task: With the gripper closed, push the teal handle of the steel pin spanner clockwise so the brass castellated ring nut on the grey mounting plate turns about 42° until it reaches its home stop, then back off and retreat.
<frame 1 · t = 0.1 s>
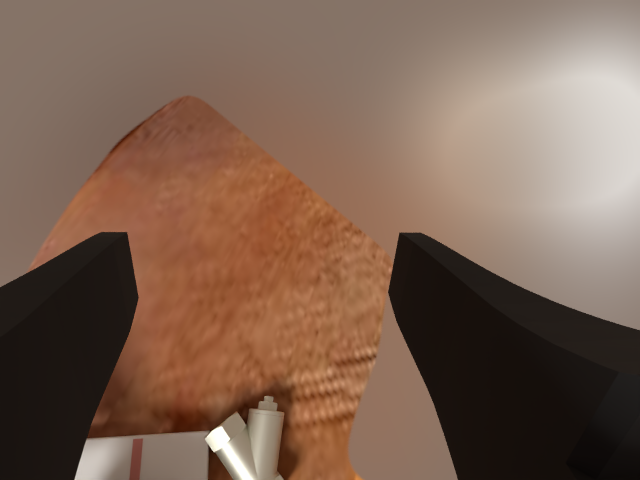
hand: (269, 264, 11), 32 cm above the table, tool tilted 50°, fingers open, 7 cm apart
pipe fitting: (261, 445, 39), on the table
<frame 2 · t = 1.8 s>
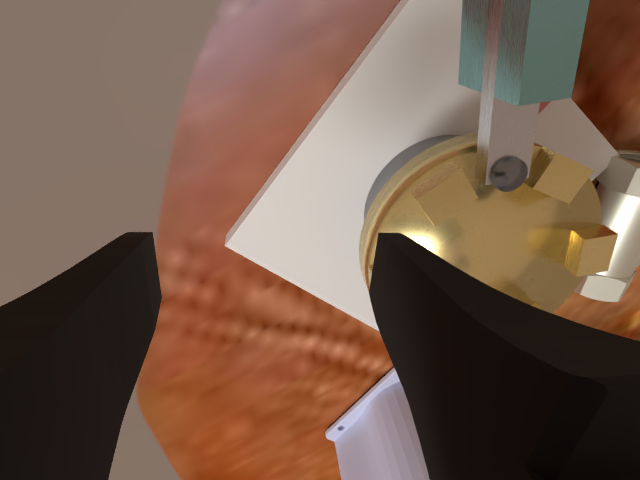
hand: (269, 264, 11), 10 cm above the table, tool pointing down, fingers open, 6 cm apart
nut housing: (429, 200, 23), on the table
pipe fitting: (613, 211, 25), on the table
ring nut: (496, 174, 15), point 7 cm above the table, hinge at 45.0°
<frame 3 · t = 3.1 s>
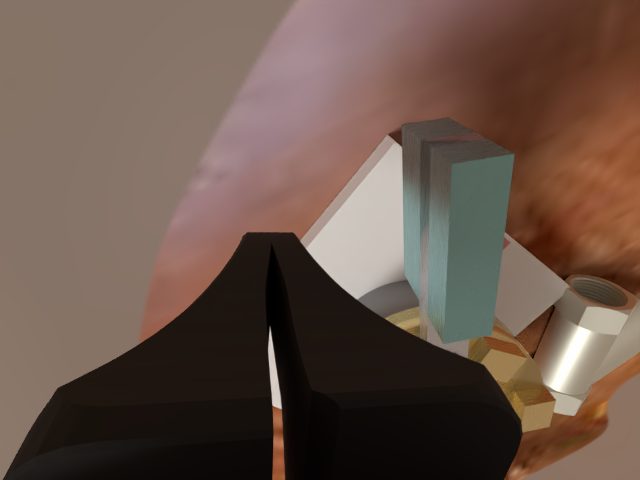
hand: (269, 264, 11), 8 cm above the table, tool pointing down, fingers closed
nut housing: (394, 324, 24), on the table
pipe fitting: (573, 321, 27), on the table
ring nut: (439, 358, 16), point 7 cm above the table, hinge at 45.0°
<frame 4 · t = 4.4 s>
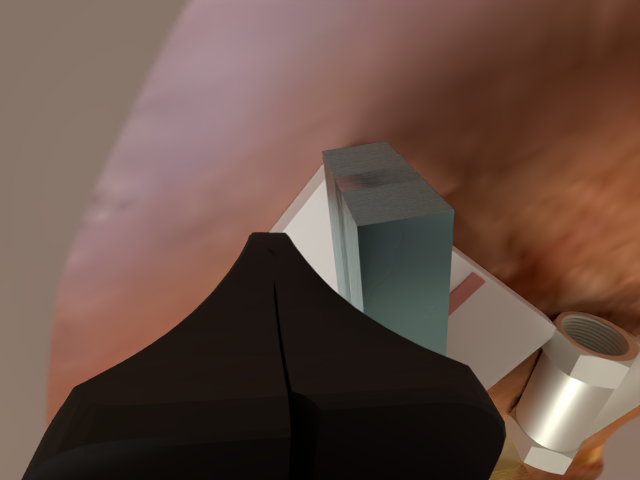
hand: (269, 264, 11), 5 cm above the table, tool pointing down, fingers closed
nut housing: (353, 370, 21), on the table
pipe fitting: (565, 361, 23), on the table
ring nut: (387, 441, 13), point 7 cm above the table, hinge at 45.0°, touching gripper
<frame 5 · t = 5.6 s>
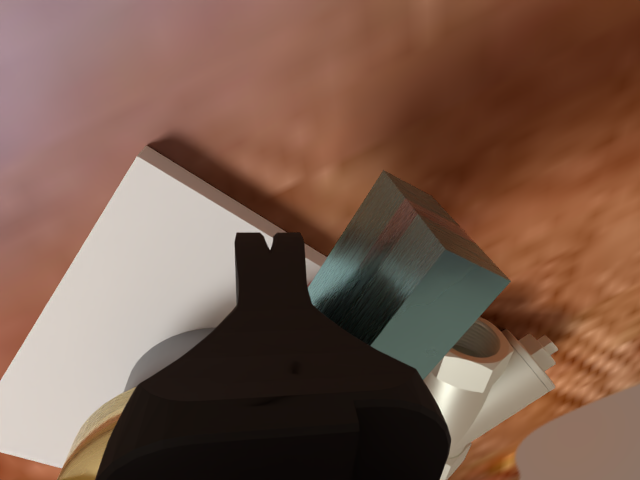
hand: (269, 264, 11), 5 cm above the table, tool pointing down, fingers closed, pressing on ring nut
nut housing: (222, 374, 20), on the table
pipe fitting: (458, 363, 22), on the table
ring nut: (259, 454, 12), point 7 cm above the table, hinge at 8.8°, touching gripper
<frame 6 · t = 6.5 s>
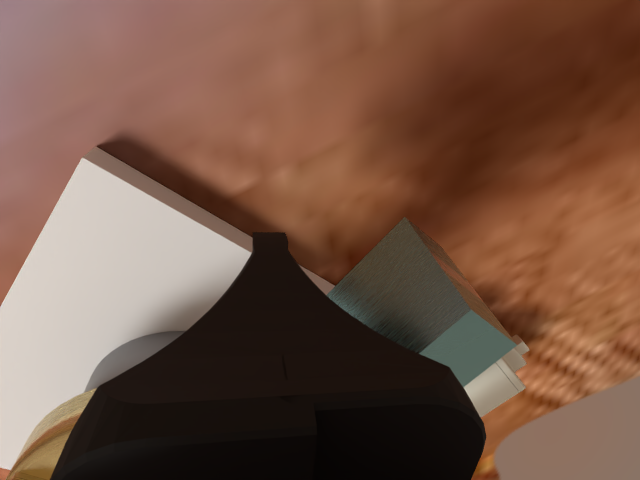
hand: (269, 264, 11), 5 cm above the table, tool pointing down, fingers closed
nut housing: (188, 378, 19), on the table
pipe fitting: (431, 363, 22), on the table
ring nut: (230, 468, 12), point 7 cm above the table, hinge at -3.0°, touching gripper
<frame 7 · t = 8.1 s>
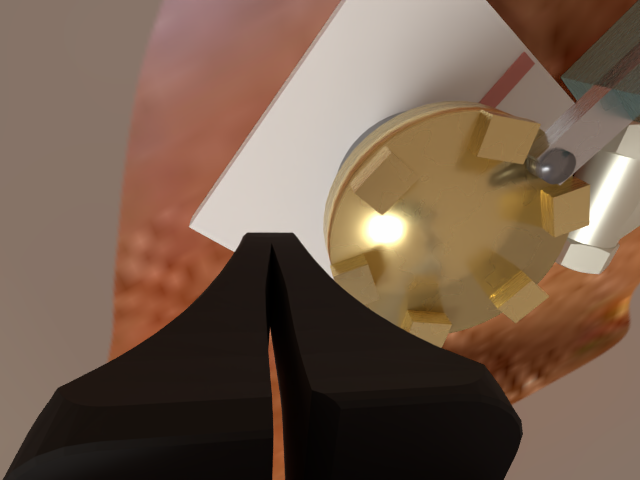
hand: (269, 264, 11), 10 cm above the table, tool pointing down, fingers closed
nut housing: (403, 181, 22), on the table
pipe fitting: (600, 182, 24), on the table
ring nut: (536, 166, 15), point 7 cm above the table, hinge at -3.2°
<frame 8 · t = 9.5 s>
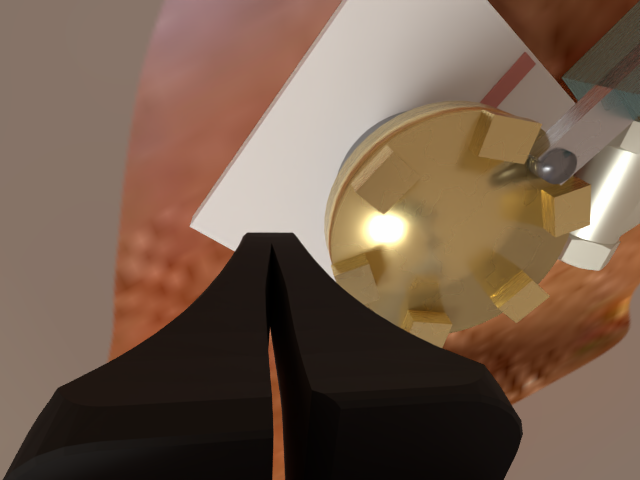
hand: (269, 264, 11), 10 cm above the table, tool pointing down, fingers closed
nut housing: (404, 181, 22), on the table
pipe fitting: (601, 179, 24), on the table, touching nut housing
ring nut: (537, 165, 15), point 7 cm above the table, hinge at -3.2°
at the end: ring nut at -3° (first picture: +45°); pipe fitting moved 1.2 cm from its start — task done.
